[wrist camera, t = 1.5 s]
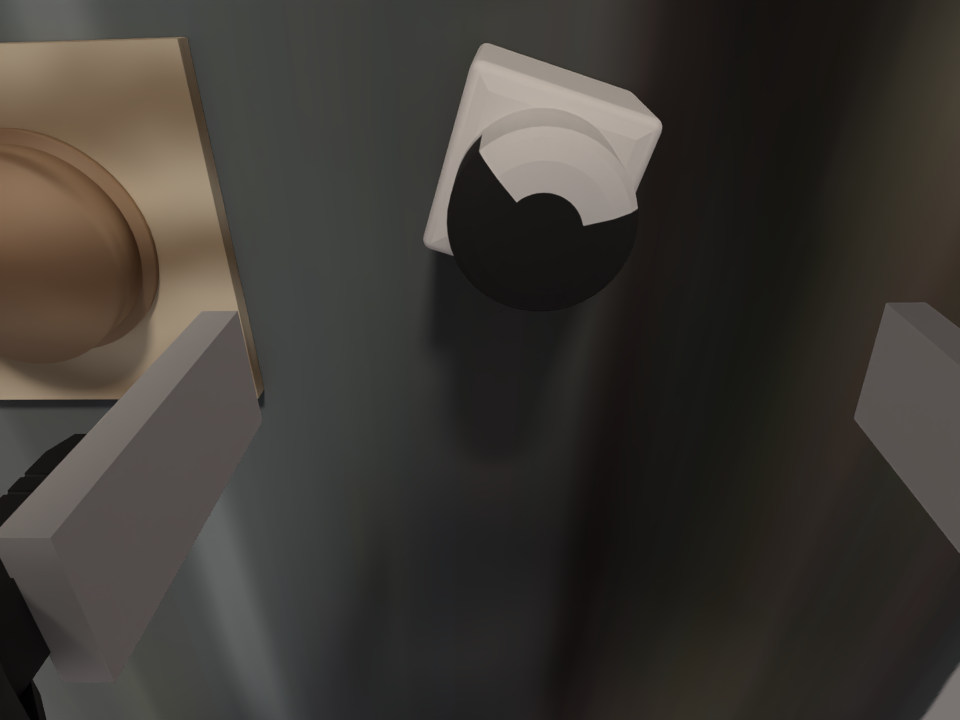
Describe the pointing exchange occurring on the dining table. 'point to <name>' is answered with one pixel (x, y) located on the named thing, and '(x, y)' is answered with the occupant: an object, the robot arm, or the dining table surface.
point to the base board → (156, 170)
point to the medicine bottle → (540, 181)
